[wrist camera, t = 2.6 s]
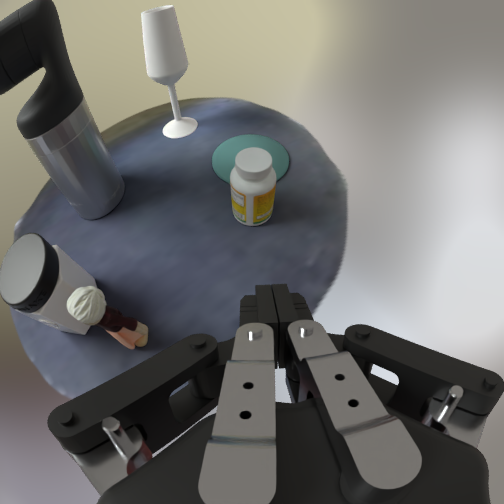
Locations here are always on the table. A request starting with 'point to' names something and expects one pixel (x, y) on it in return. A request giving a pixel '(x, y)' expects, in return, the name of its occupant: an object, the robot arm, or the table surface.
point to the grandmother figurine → (106, 317)
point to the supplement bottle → (253, 186)
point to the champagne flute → (166, 61)
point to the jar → (42, 282)
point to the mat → (230, 148)
